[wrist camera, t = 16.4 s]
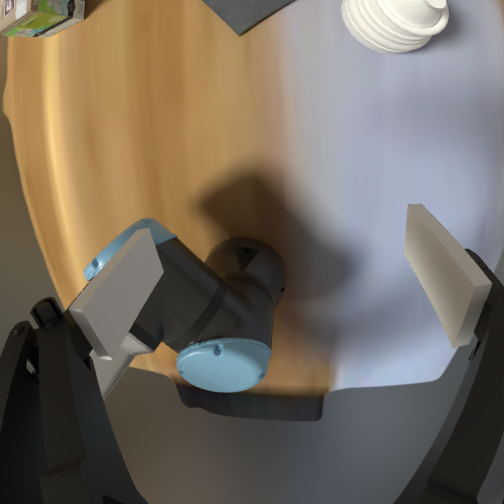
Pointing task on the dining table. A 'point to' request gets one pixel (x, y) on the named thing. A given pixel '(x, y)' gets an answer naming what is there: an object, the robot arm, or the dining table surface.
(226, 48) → the dining table surface
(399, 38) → the honey pot
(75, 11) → the tea box
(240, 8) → the duct flange
